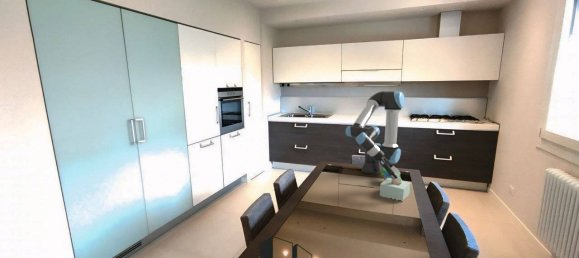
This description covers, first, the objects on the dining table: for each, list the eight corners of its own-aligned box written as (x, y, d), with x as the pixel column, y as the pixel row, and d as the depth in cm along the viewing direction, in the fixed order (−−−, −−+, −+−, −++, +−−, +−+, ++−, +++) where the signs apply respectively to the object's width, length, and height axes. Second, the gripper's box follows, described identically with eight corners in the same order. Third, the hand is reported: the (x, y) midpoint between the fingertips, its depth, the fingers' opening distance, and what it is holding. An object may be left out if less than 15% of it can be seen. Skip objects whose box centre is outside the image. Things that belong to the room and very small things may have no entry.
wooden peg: (392, 191, 168) (393, 174, 166) (398, 193, 165) (399, 175, 163) (390, 193, 165) (391, 175, 163) (396, 195, 162) (398, 177, 160)
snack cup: (404, 185, 180) (405, 171, 178) (392, 188, 176) (393, 173, 174) (387, 178, 194) (388, 165, 193) (376, 180, 190) (377, 167, 189)
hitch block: (387, 188, 175) (387, 177, 173) (409, 194, 166) (410, 182, 165) (379, 195, 164) (380, 183, 163) (402, 201, 155) (403, 189, 154)
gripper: (371, 151, 178) (393, 175, 175) (370, 162, 154) (396, 188, 152) (380, 144, 175) (402, 168, 173) (380, 154, 152) (406, 181, 149)
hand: (399, 178), depth 162 cm, fingers open, 13 cm apart
